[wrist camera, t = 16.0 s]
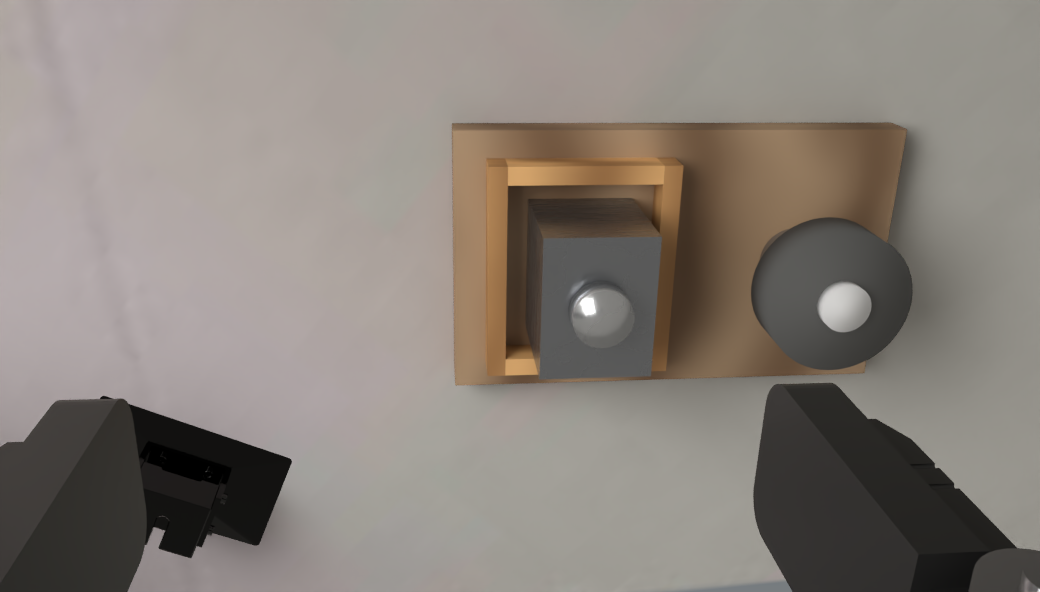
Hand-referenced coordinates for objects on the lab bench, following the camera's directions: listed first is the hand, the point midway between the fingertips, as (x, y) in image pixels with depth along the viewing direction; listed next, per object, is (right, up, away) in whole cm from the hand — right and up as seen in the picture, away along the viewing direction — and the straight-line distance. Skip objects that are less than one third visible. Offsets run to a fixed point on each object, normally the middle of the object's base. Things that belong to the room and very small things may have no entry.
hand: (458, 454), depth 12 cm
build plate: (-16, -7, +34) cm, 38 cm away
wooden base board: (+8, +4, +31) cm, 33 cm away
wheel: (+14, +2, +28) cm, 31 cm away
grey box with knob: (+3, +3, +30) cm, 30 cm away
